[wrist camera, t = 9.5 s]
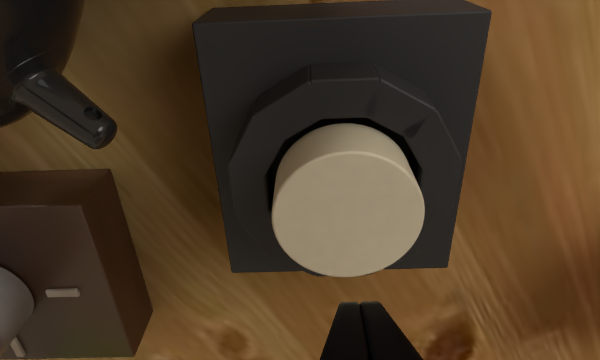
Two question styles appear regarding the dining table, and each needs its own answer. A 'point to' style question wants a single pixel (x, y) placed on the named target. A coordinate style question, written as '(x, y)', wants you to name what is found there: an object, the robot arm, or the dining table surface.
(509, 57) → the dining table surface
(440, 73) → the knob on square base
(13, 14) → the black glossy ovoid
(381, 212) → the round beige button
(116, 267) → the panel
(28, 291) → the dial
